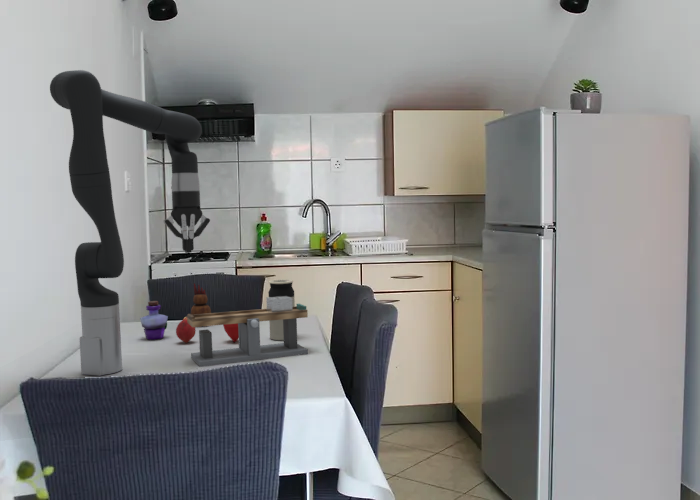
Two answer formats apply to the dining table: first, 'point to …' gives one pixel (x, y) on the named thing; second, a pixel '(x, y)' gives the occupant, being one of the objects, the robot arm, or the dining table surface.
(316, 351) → the dining table surface
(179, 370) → the dining table surface
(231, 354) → the pivot stand
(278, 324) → the travel mug
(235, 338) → the strawberry
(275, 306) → the block
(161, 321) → the potion bottle
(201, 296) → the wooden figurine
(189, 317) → the beam
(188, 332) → the pomegranate
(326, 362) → the dining table surface
